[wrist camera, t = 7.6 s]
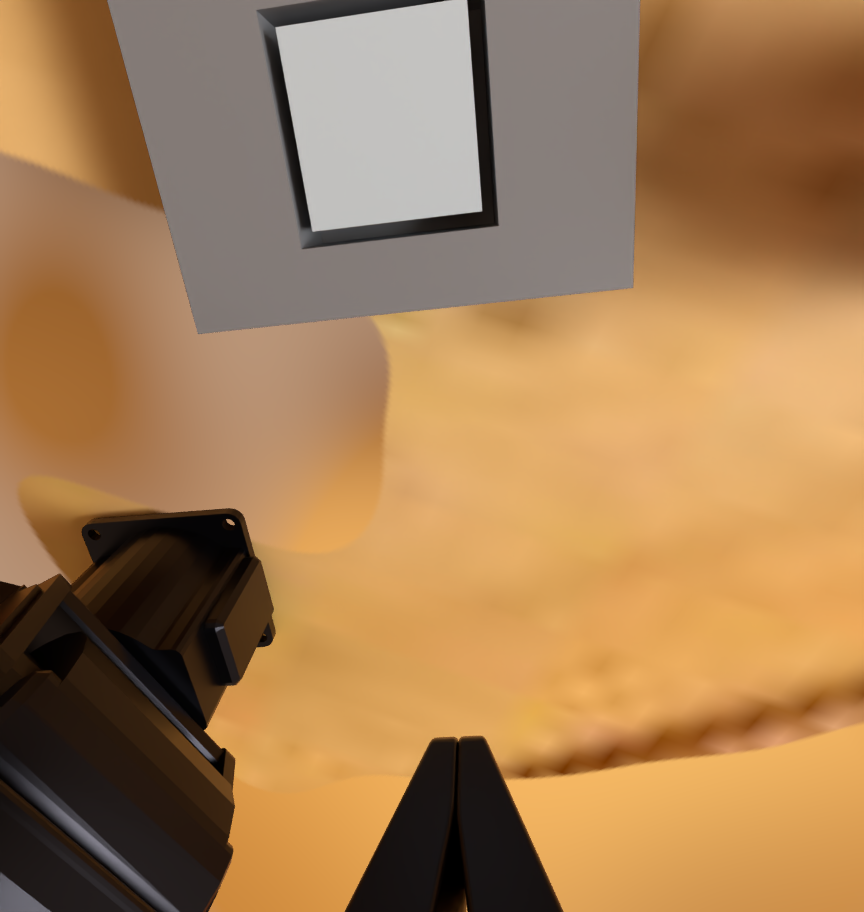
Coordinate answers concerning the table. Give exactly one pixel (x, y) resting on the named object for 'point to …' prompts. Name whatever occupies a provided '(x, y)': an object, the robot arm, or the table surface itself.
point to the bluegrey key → (384, 114)
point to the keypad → (403, 242)
